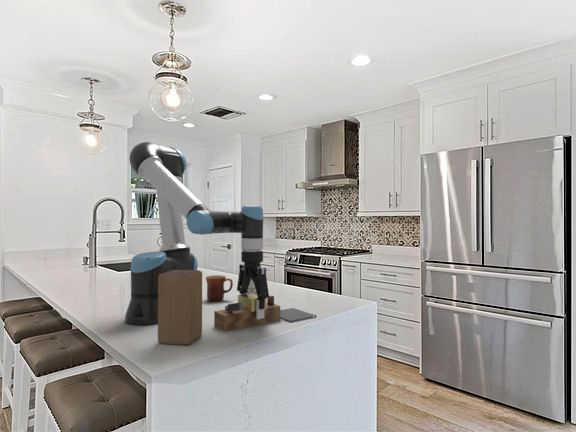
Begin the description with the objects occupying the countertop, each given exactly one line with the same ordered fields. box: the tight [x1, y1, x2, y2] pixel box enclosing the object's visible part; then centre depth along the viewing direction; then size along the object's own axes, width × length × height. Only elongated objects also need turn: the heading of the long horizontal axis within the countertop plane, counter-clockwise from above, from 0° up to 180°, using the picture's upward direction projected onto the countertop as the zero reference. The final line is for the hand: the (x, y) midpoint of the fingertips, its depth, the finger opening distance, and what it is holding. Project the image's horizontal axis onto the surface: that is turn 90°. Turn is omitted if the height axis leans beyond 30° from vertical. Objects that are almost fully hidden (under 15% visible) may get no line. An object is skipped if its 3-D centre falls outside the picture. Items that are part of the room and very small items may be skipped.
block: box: [157, 269, 203, 346], centre depth 109 cm, size 10×10×20 cm
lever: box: [224, 302, 243, 312], centre depth 119 cm, size 2×2×9 cm
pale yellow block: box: [237, 293, 267, 312], centre depth 128 cm, size 6×9×4 cm, turn 37°
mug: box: [205, 274, 234, 303], centre depth 162 cm, size 12×9×10 cm
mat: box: [280, 307, 317, 323], centre depth 137 cm, size 12×14×1 cm
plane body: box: [213, 295, 281, 332], centre depth 127 cm, size 22×7×8 cm, turn 127°
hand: (252, 315), depth 128 cm, fingers open, 10 cm apart
